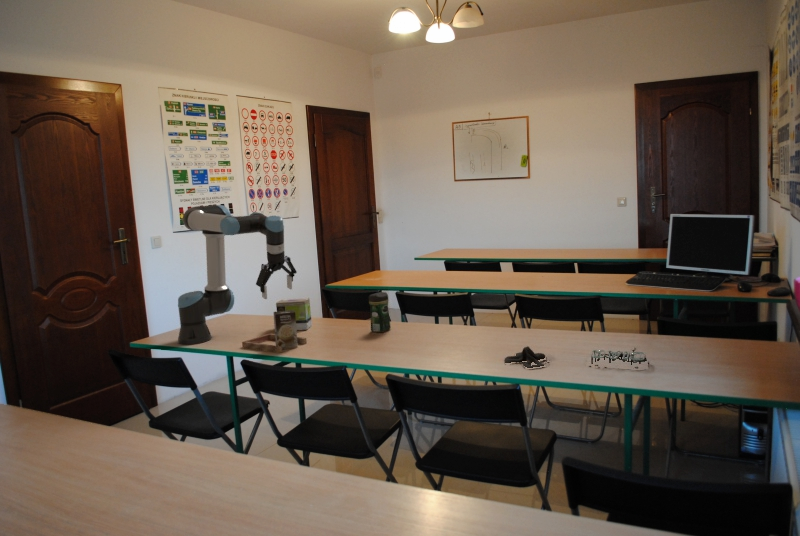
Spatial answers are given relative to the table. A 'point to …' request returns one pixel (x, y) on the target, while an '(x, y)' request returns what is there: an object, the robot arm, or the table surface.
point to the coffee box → (285, 329)
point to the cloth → (526, 358)
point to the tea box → (297, 311)
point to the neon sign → (618, 356)
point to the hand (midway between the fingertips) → (277, 293)
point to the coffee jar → (379, 312)
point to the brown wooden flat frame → (271, 348)
